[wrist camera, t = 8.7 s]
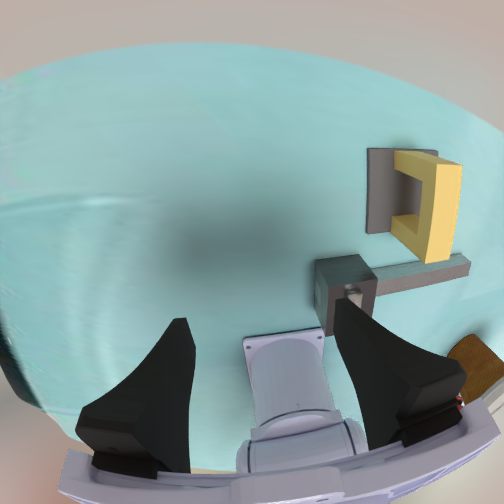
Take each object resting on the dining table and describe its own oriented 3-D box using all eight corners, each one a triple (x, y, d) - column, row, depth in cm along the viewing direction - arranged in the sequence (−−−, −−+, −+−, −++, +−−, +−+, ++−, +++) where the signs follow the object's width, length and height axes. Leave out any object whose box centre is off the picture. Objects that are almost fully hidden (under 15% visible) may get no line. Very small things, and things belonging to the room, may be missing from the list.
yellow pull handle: (413, 229, 22) (449, 259, 17) (390, 232, 22) (424, 263, 17) (418, 151, 19) (462, 165, 14) (394, 150, 19) (436, 164, 14)
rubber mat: (429, 225, 22) (431, 226, 22) (365, 232, 22) (367, 234, 22) (435, 150, 19) (438, 151, 19) (367, 148, 19) (369, 149, 19)
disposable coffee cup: (490, 330, 31) (528, 379, 21) (454, 372, 35) (484, 423, 24) (468, 320, 29) (514, 379, 18) (427, 368, 33) (460, 430, 22)
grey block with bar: (454, 279, 25) (478, 304, 21) (314, 307, 25) (327, 344, 21) (463, 238, 23) (492, 261, 19) (314, 260, 23) (332, 294, 19)
